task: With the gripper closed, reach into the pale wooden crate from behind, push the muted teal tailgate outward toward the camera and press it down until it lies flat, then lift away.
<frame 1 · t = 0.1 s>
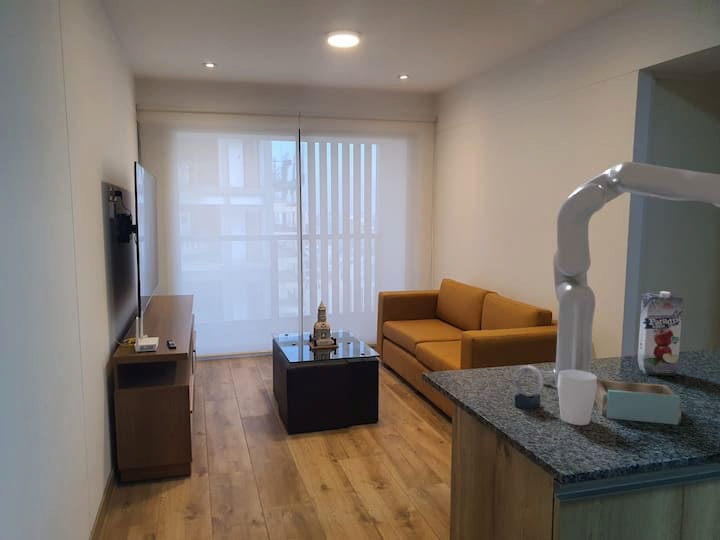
cup: (574, 422, 133), on the countertop
crate: (633, 411, 139), on the countertop
tailgate: (642, 406, 132), point 4 cm above the countertop, hinge at 0.0°
juice carton: (656, 373, 173), on the countertop
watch: (526, 406, 143), on the countertop
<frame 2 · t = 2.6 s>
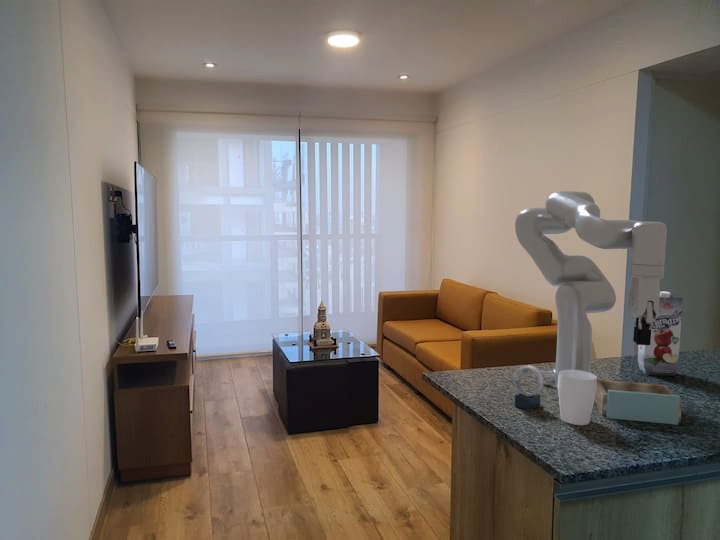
hand: (641, 343, 134), 19 cm above the countertop, fingers closed
nothing on the countertop moved.
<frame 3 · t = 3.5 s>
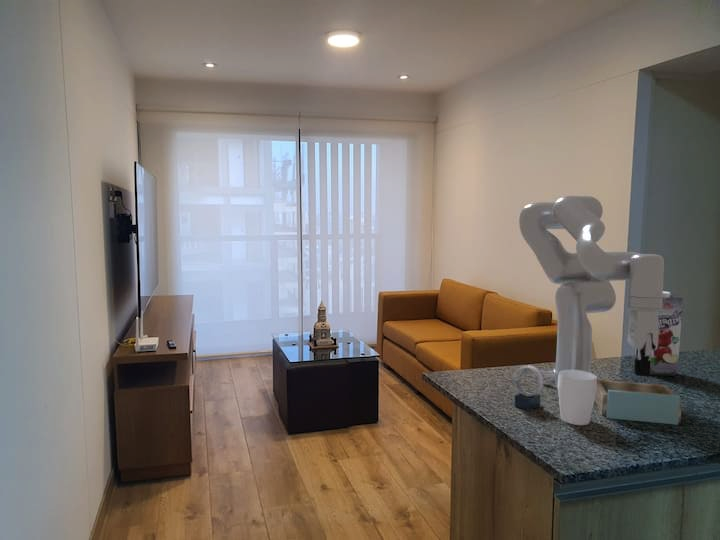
hand: (642, 374, 135), 11 cm above the countertop, fingers closed
nothing on the countertop moved.
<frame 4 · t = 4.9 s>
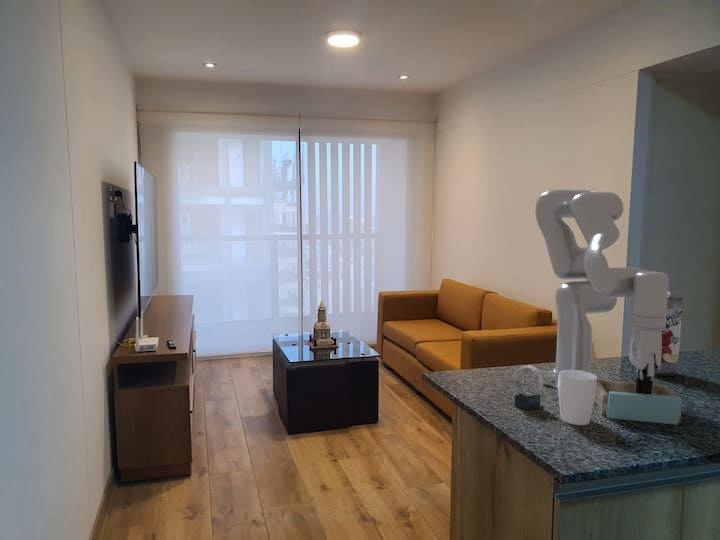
hand: (643, 394, 132), 7 cm above the countertop, fingers closed
tailgate: (643, 407, 131), point 4 cm above the countertop, hinge at 11.6°, touching gripper
everything else where it was.
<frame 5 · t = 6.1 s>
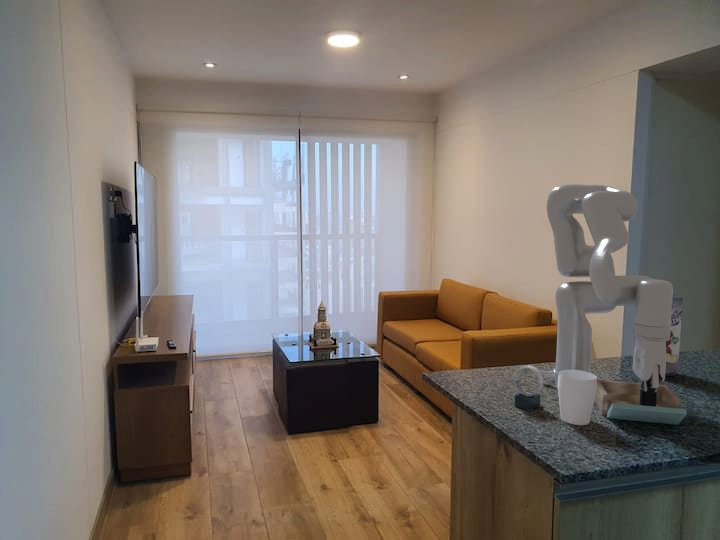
hand: (647, 406, 128), 6 cm above the countertop, fingers closed
tailgate: (645, 413, 129), point 3 cm above the countertop, hinge at 48.5°, touching gripper
everything else where it was.
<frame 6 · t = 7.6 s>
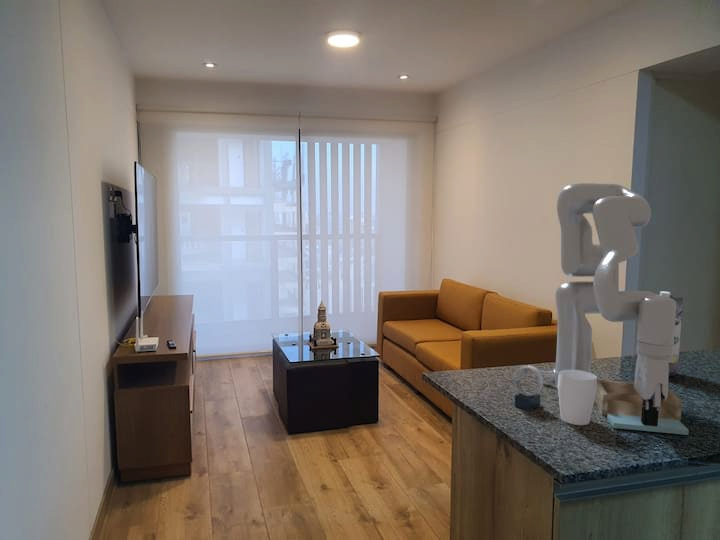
hand: (649, 424, 126), 2 cm above the countertop, fingers closed
tailgate: (646, 423, 128), point 1 cm above the countertop, hinge at 87.3°, touching gripper
everything else where it was.
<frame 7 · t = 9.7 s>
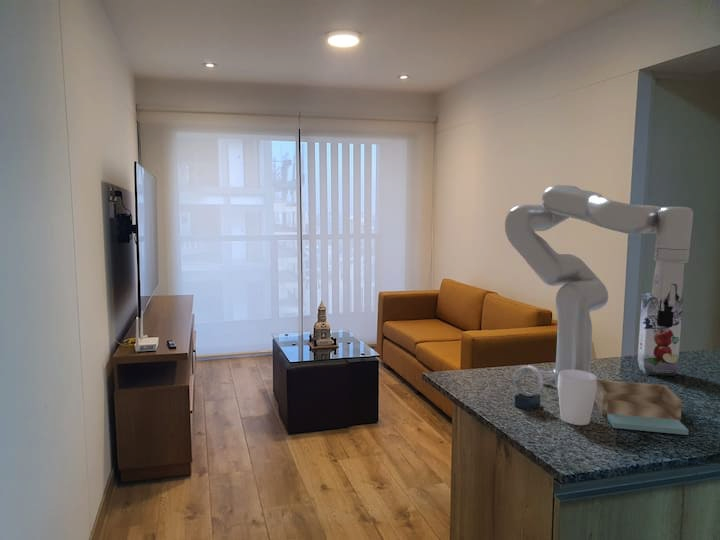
hand: (664, 325, 137), 23 cm above the countertop, fingers closed
tailgate: (646, 423, 128), point 1 cm above the countertop, hinge at 87.4°
everything else where it was.
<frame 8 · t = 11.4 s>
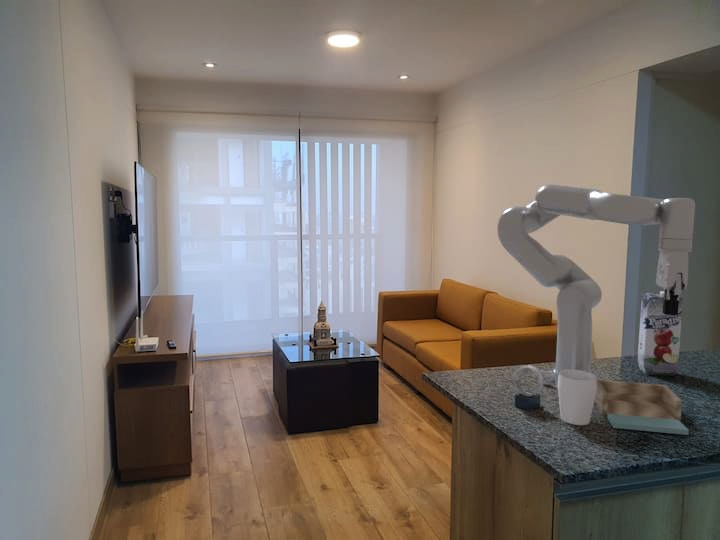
hand: (670, 314, 141), 25 cm above the countertop, fingers closed
nothing on the countertop moved.
at the end: tailgate at +87° (first picture: +0°); cup moved 0.2 cm from its start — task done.
